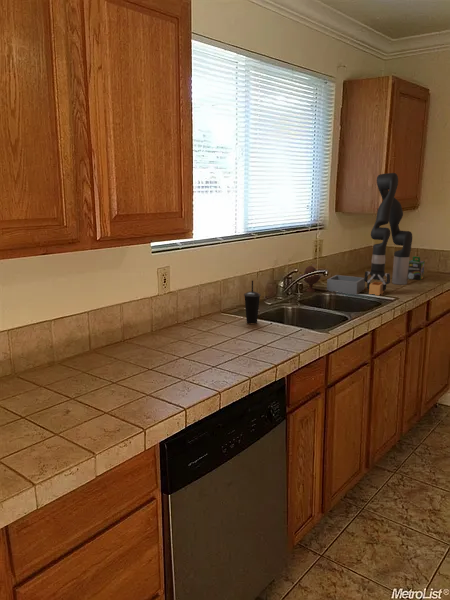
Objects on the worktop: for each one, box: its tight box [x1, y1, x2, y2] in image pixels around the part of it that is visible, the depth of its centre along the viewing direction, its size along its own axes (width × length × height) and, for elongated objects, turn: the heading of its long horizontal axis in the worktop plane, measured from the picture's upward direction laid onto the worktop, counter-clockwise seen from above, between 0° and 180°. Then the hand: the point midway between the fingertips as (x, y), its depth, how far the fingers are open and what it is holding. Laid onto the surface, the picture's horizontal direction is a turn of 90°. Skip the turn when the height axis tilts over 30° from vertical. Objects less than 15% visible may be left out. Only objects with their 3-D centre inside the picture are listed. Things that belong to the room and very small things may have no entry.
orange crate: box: [368, 281, 385, 296], centre depth 298 cm, size 10×6×6 cm, turn 149°
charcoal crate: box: [326, 274, 366, 295], centre depth 306 cm, size 16×18×7 cm
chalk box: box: [408, 256, 425, 281], centre depth 340 cm, size 9×9×15 cm
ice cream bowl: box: [301, 265, 322, 293], centre depth 303 cm, size 11×11×15 cm
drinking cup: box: [243, 280, 261, 324], centre depth 236 cm, size 8×8×20 cm
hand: (376, 289), depth 298 cm, fingers open, 8 cm apart
